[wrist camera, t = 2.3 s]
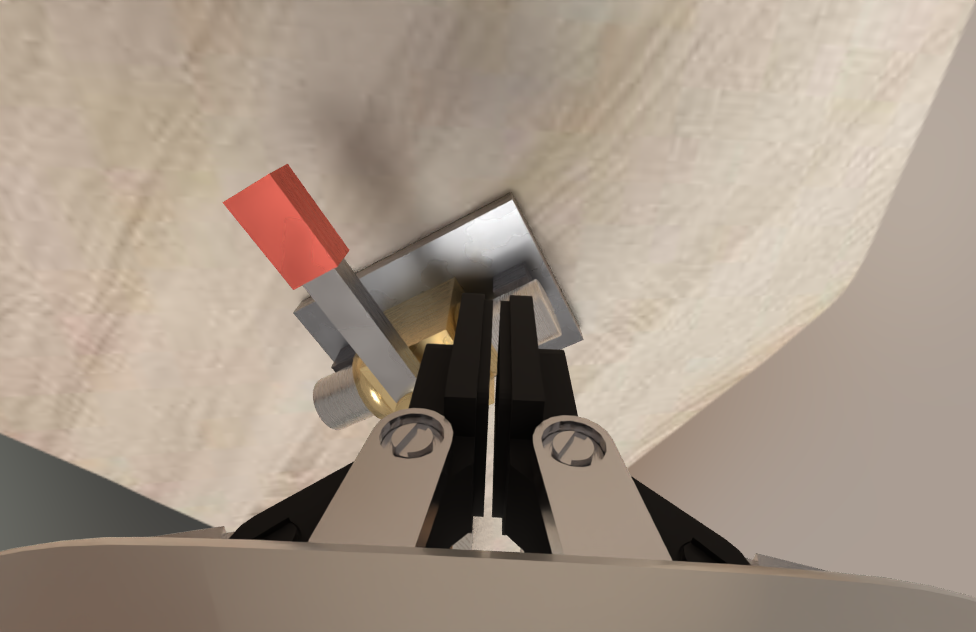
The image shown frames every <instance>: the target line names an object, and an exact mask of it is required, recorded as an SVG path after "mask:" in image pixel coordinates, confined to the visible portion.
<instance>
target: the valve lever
mask: <svg viewBox="0 0 976 632" xmlns="http://www.w3.org/2000/svg"><path fill="white" fill-rule="evenodd" d="M223 204H224V205H225V206H226V207H227V209H228V210H229V211H230V212H231V213H232V215H233V216H234V217H235V218H236V220H237V221H238V222H239V223H240V225H241V226H242V227H243V228H244V230H245V231H246V232H247V233H248V234H249V236H250V237H251V238H252V239H253V241H254V242H255V243H256V244H257V246H258V247H259V248H260V249H261V251H262V252H263V253H264V254H265V255H266V257H267V258H268V259H269V260H270V262H271V263H272V264H273V265H274V267H275V268H276V269H277V270H278V272H279V273H280V274H281V275H282V276H283V278H284V279H285V280H286V281H287V283H288V284H289V285H290V286H291V288H292V289H293V290H294V289H296V288H298V287H300V286H302V285H303V287H304V288H305V289H306V290H307V292H308V293H309V294H310V295H311V297H312V298H313V299H314V300H315V302H316V303H317V304H318V305H319V307H320V308H321V309H322V310H323V312H324V313H325V314H326V315H327V317H328V318H329V319H330V320H331V322H332V323H333V324H334V326H335V327H336V328H337V329H338V331H339V332H340V333H341V334H342V336H343V337H344V338H345V339H346V341H347V342H348V343H349V344H350V346H351V347H352V348H353V349H354V351H355V352H356V353H357V354H358V356H359V357H360V358H361V359H362V361H363V362H364V363H365V364H366V366H367V367H368V368H369V370H370V371H371V372H372V373H373V375H374V376H375V377H376V378H377V380H378V381H379V382H380V383H381V385H382V386H383V387H384V388H385V390H386V391H387V392H388V393H389V395H390V396H391V397H392V398H393V400H394V401H395V402H396V403H397V404H396V408H395V411H394V412H396V411H399V410H403V409H408V408H409V404H410V401H411V397H412V393H413V390H414V386H415V382H416V379H417V375H418V371H419V368H420V362H419V361H418V360H417V358H416V357H415V355H414V354H413V353H412V351H411V350H410V349H409V347H408V346H407V344H406V343H405V342H404V340H403V339H402V338H401V336H400V335H399V333H398V332H397V331H396V329H395V328H394V327H393V325H392V324H391V322H390V321H389V320H388V318H387V317H386V316H385V314H384V313H383V311H382V310H381V309H380V307H379V306H378V305H377V303H376V302H375V300H374V299H373V298H372V296H371V295H370V294H369V292H368V291H367V289H366V288H365V287H364V285H363V284H362V283H361V281H360V280H359V278H358V277H357V276H356V274H355V273H354V271H353V270H352V269H351V267H350V266H349V265H348V263H347V262H346V260H345V259H344V257H345V256H346V254H347V253H348V252H349V249H348V248H347V246H346V245H345V243H344V242H343V241H342V239H341V238H340V236H339V235H338V234H337V232H336V231H335V229H334V228H333V227H332V225H331V224H330V222H329V221H328V220H327V218H326V217H325V215H324V214H323V213H322V211H321V210H320V208H319V207H318V206H317V204H316V203H315V201H314V200H313V199H312V197H311V196H310V194H309V193H308V192H307V190H306V189H305V187H304V186H303V185H302V183H301V182H300V180H299V179H298V178H297V176H296V175H295V173H294V172H293V171H292V169H291V168H290V166H289V165H288V164H286V165H284V166H283V167H281V168H279V169H277V170H275V171H273V172H272V173H270V174H268V175H267V176H265V177H263V178H262V179H260V180H258V181H257V182H255V183H254V184H252V185H250V186H249V187H247V188H245V189H244V190H242V191H241V192H239V193H237V194H236V195H234V196H232V197H231V198H229V199H227V200H226V201H224V202H223Z"/></svg>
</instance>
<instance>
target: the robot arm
mask: <svg viewBox="0 0 976 632" xmlns="http://www.w3.org/2000/svg"><path fill="white" fill-rule="evenodd" d="M492 322H493V300H485V294H478V293H462V298H461V304H460V309H459V315H458V320H457V326H456V332H455V337H454V343H453V345H451V344H430V343H427V344H426V346H425V350H424V353H423V357H422V361H421V364H420V368H419V371H418V375H417V379H416V382H415V386H414V390H413V393H412V397H411V401H410V404H409V408H408V409H403V410H399V411H396V412H394V413H391V414H389V415H387V416H386V417H384V418H383V419H381V420H380V421H379V422H378V423H377V425H376V426H375V427H374V428H373V430H372V431H371V433H370V435H369V437H368V438H367V440H366V442H365V444H364V445H363V447H362V449H361V451H360V452H359V454H358V456H357V457H356V459H355V461H354V462H352V463H350V464H348V465H347V466H345V467H343V468H341V469H339V470H337V471H336V472H334V473H332V474H330V475H328V476H327V477H325V478H323V479H321V480H319V481H317V482H316V483H314V484H312V485H310V486H308V487H307V488H305V489H303V490H301V491H299V492H297V493H296V494H294V495H292V496H290V497H288V498H286V499H285V500H283V501H281V502H279V503H277V504H276V505H274V506H272V507H270V508H268V509H266V510H265V511H263V512H261V513H259V514H257V515H256V516H254V517H253V518H251V519H250V520H248V521H247V522H245V523H244V524H242V525H241V526H240V527H239V528H238V529H237V530H236V531H235V532H230V533H226V530H225V527H224V526H222V527H215V528H208V529H202V530H194V531H188V532H181V533H174V534H167V535H161V536H154V537H107V538H106V537H105V538H92V539H78V540H65V541H57V542H51V543H44V544H38V545H31V546H25V547H18V548H12V549H9V550H4V551H0V632H976V597H973V596H969V595H965V594H961V593H957V592H953V591H950V590H945V589H942V588H938V587H934V586H930V585H924V584H918V583H913V582H908V581H902V580H896V579H891V578H885V577H876V576H866V575H856V574H847V573H839V572H830V571H825V570H822V569H818V568H813V567H809V566H805V565H801V564H797V563H793V562H789V561H785V560H781V559H777V558H773V557H769V556H765V555H761V554H757V553H756V555H755V557H754V559H753V560H751V559H748V558H745V557H744V556H743V554H742V553H741V552H740V551H739V550H738V549H737V548H736V547H734V546H733V545H732V544H731V543H729V542H728V541H727V540H726V539H724V538H723V537H721V536H720V535H718V534H717V533H715V532H714V531H712V530H711V529H709V528H708V527H706V526H705V525H703V524H702V523H700V522H699V521H697V520H696V519H694V518H693V517H691V516H690V515H688V514H687V513H685V512H684V511H682V510H681V509H679V508H678V507H676V506H675V505H673V504H672V503H670V502H669V501H667V500H666V499H664V498H663V497H661V496H660V495H658V494H657V493H655V492H654V491H652V490H651V489H649V488H648V487H646V486H645V485H643V484H642V483H640V482H639V481H637V480H636V479H634V478H633V477H631V475H630V473H629V471H628V469H627V467H626V465H625V463H624V461H623V459H622V457H621V455H620V453H619V451H618V449H617V447H616V445H615V443H614V441H613V439H612V438H611V436H610V435H609V434H608V432H607V431H606V430H605V429H603V428H602V427H601V426H600V425H598V424H596V423H594V422H592V421H590V420H588V419H585V418H581V417H578V414H577V409H576V404H575V400H574V395H573V390H572V385H571V380H570V375H569V370H568V366H567V361H566V356H565V352H564V350H557V349H539V348H538V339H537V331H536V322H535V314H534V305H533V297H532V296H521V295H510V297H509V301H501V303H500V320H499V339H498V357H497V375H496V394H495V425H494V462H493V499H492V517H498V518H502V535H507V536H508V537H509V538H510V539H511V540H513V541H514V542H515V543H516V544H517V545H518V546H519V547H520V548H521V550H520V552H501V551H481V550H461V549H453V545H454V544H455V543H456V542H458V541H459V540H460V539H462V538H463V537H464V536H465V535H467V534H468V533H472V526H473V516H478V517H483V516H484V495H485V474H486V452H487V431H488V410H489V388H490V366H491V344H492Z"/></svg>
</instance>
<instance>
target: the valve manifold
mask: <svg viewBox="0 0 976 632" xmlns="http://www.w3.org/2000/svg"><path fill="white" fill-rule="evenodd" d="M356 276H357V277H358V278H359V280H360V281H361V283H362V284H363V285H364V287H365V288H366V289H367V291H368V292H369V294H370V295H371V296H372V298H373V299H374V300H375V302H376V303H377V305H378V306H379V307H380V309H381V310H382V311H383V313H384V314H385V316H386V317H387V318H388V320H389V321H390V322H391V324H392V325H393V327H394V328H395V329H396V331H397V332H398V333H399V335H400V336H401V338H402V339H403V340H404V342H405V343H406V344H407V346H408V347H409V349H410V350H411V351H412V353H413V354H414V355H415V357H416V358H417V360H418V361H419V362H420V364H421V361H422V357H423V353H424V350H425V346H426V344H427V343H430V344H451V345H453V343H454V337H455V332H456V326H457V320H458V315H459V309H460V304H461V298H462V293H478V294H485V300H493V322H492V344H491V366H490V388H489V405H490V404H493V403H494V377H496V375H497V357H498V339H499V320H500V303H501V301H509V297H510V295H521V296H532V297H533V305H534V314H535V322H536V331H537V339H538V348H539V349H557V350H560V349H563V348H565V347H567V346H570V345H572V344H575V343H577V342H579V341H582V340H583V336H582V333H581V330H580V327H579V325H578V323H577V321H576V319H575V317H574V315H573V313H572V311H571V309H570V307H569V305H568V303H567V301H566V299H565V297H564V295H563V293H562V291H561V289H560V287H559V285H558V283H557V281H556V279H555V277H554V276H553V274H552V272H551V270H550V268H549V266H548V264H547V262H546V260H545V258H544V256H543V254H542V252H541V250H540V248H539V246H538V244H537V242H536V240H535V238H534V236H533V234H532V232H531V230H530V228H529V226H528V224H527V222H526V220H525V218H524V216H523V214H522V212H521V210H520V208H519V206H518V204H517V202H516V200H515V198H514V196H513V194H512V192H511V193H509V194H508V195H506V196H504V197H502V198H500V199H498V200H496V201H494V202H492V203H490V204H488V205H486V206H484V207H483V208H481V209H479V210H477V211H475V212H473V213H471V214H469V215H467V216H465V217H463V218H461V219H459V220H458V221H456V222H454V223H452V224H450V225H448V226H446V227H444V228H442V229H440V230H438V231H436V232H434V233H433V234H431V235H429V236H427V237H425V238H423V239H421V240H419V241H417V242H415V243H413V244H411V245H409V246H408V247H406V248H404V249H402V250H400V251H398V252H396V253H394V254H392V255H390V256H388V257H386V258H384V259H383V260H381V261H379V262H377V263H375V264H373V265H371V266H369V267H367V268H365V269H363V270H361V271H359V272H358V273H356ZM293 313H294V314H295V316H296V317H297V318H298V319H299V320H300V322H301V323H302V324H303V325H304V326H305V328H306V329H307V330H308V331H309V332H310V334H311V335H312V336H313V337H314V338H315V340H316V341H317V342H318V343H319V344H320V346H321V347H322V348H323V349H324V350H325V352H326V353H327V354H328V355H329V356H330V358H331V359H332V360H333V361H334V363H333V365H332V369H333V370H334V371H335V373H333V374H331V375H329V376H327V377H324V378H322V379H320V380H319V381H318V382H317V383H316V384H315V386H314V390H313V400H314V405H315V408H316V411H317V413H318V415H319V417H320V418H321V420H322V421H323V422H324V423H325V424H326V425H327V426H329V427H330V428H332V429H335V430H341V429H343V428H346V427H348V426H350V425H353V424H355V423H357V422H360V421H362V420H365V419H367V418H369V417H372V416H374V415H375V416H376V417H377V418H379V419H383V418H384V417H386V416H387V415H389V414H391V413H394V411H395V408H396V404H397V403H396V402H395V401H394V400H393V398H392V397H391V396H390V395H389V393H388V392H387V391H386V390H385V388H384V387H383V386H382V385H381V383H380V382H379V381H378V380H377V378H376V377H375V376H374V375H373V373H372V372H371V371H370V370H369V368H368V367H367V366H366V364H365V363H364V362H363V361H362V359H361V358H360V357H359V356H358V354H357V353H356V352H355V351H354V349H353V348H352V347H351V346H350V344H349V343H348V342H347V341H346V339H345V338H344V337H343V336H342V334H341V333H340V332H339V331H338V329H337V328H336V327H335V326H334V324H333V323H332V322H331V320H330V319H329V318H328V317H327V315H326V314H325V313H324V312H323V310H322V309H321V308H320V307H319V305H318V304H317V303H316V302H315V300H314V299H313V298H312V297H309V298H308V299H306V300H304V301H302V302H301V303H300V305H299V306H298V307H297V308H296V310H295V311H294V312H293Z"/></svg>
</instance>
